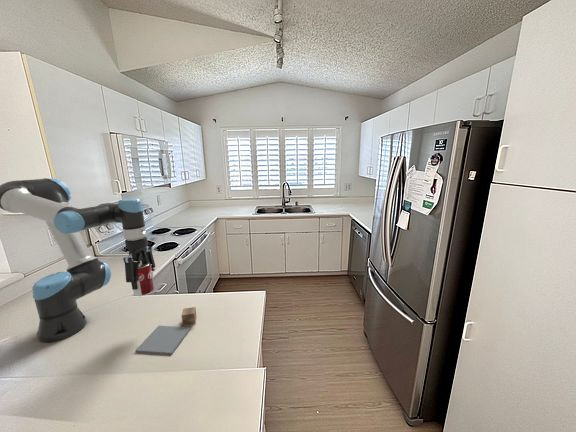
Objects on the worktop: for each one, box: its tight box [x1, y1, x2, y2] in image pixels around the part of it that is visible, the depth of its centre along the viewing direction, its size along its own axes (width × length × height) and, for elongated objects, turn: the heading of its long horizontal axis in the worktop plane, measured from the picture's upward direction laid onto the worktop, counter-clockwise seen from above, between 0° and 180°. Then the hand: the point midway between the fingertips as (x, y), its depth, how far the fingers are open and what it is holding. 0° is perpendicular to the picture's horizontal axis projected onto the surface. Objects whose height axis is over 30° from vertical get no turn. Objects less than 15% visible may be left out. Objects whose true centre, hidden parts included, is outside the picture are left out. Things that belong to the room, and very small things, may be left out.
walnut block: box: [181, 306, 197, 327], centre depth 108 cm, size 5×5×5 cm
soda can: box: [138, 262, 155, 297], centre depth 103 cm, size 7×7×12 cm
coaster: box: [134, 325, 192, 356], centre depth 97 cm, size 14×14×1 cm
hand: (144, 290), depth 105 cm, fingers closed on soda can, 7 cm apart
